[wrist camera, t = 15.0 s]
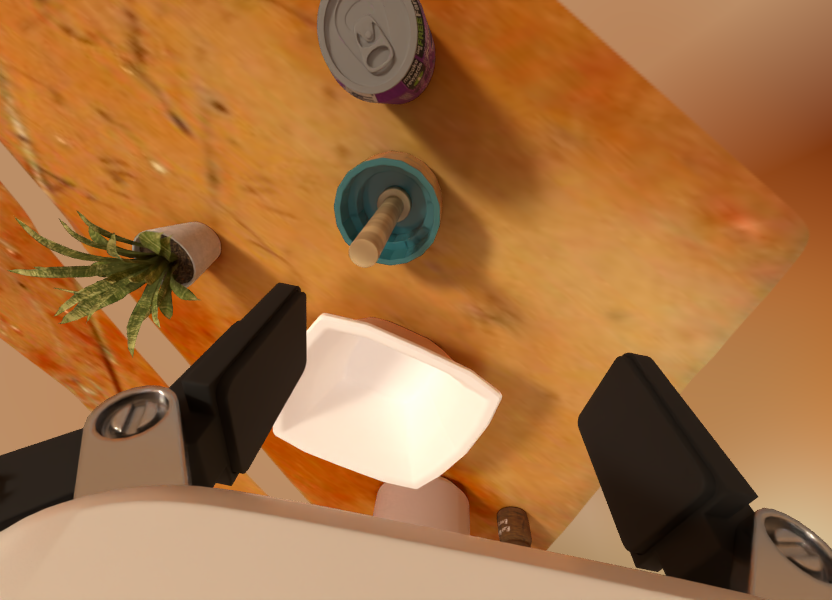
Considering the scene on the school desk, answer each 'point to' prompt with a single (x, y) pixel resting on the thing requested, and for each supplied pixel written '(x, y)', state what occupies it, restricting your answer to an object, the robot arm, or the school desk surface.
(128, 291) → the house plant
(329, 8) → the beverage can
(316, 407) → the bowl
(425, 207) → the mixing bowl
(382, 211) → the muddler
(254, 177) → the school desk surface
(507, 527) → the utensil holder
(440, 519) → the container
